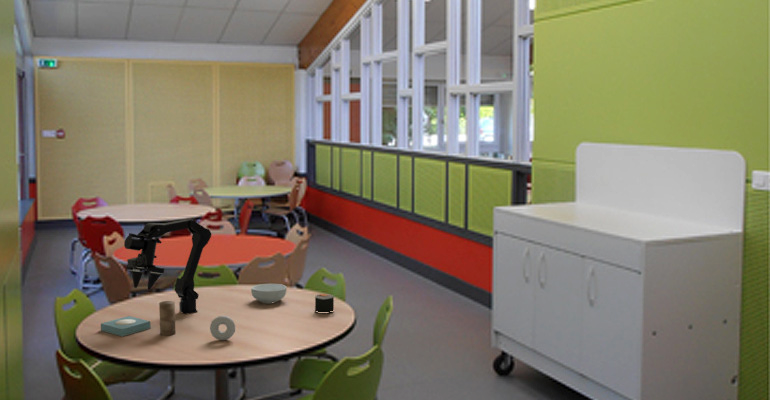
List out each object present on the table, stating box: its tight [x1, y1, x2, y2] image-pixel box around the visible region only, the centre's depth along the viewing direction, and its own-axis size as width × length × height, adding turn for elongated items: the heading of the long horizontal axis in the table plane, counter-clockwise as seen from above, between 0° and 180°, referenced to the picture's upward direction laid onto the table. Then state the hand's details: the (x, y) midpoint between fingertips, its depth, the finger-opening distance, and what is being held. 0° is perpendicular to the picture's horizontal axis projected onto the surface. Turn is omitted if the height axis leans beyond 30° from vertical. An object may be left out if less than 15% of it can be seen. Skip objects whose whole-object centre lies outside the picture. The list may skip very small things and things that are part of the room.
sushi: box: [314, 292, 335, 312], centre depth 334 cm, size 8×8×8 cm
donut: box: [209, 315, 236, 341], centre depth 290 cm, size 10×4×10 cm, turn 94°
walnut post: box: [158, 300, 176, 337], centre depth 298 cm, size 6×6×13 cm
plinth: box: [100, 315, 152, 337], centre depth 304 cm, size 14×14×3 cm
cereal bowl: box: [250, 283, 287, 304], centre depth 351 cm, size 17×17×7 cm
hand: (142, 288), depth 311 cm, fingers open, 9 cm apart
